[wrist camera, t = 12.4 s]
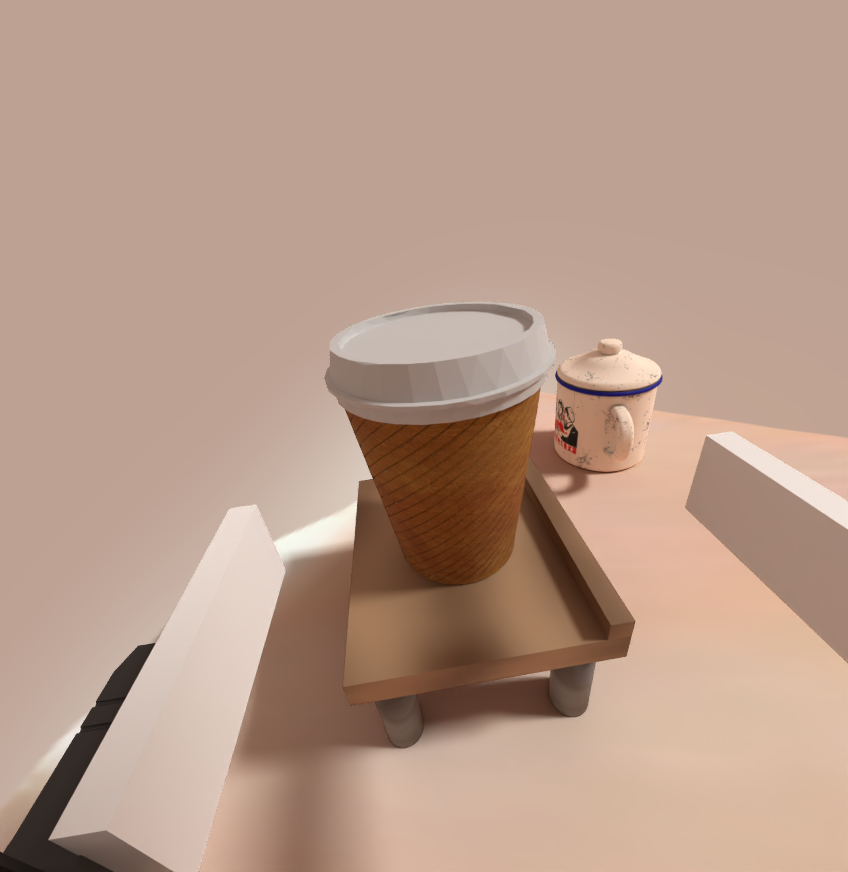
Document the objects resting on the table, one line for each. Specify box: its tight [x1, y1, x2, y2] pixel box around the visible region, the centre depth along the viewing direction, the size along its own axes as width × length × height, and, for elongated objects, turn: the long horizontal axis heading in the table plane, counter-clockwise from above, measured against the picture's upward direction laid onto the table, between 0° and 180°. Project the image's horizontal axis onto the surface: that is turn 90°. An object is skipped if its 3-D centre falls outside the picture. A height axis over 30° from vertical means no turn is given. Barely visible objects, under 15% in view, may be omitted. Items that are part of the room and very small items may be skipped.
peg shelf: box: [343, 456, 635, 748], centre depth 23 cm, size 12×14×8 cm
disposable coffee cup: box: [325, 302, 556, 585], centre depth 18 cm, size 10×10×12 cm
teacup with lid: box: [554, 339, 662, 472], centre depth 36 cm, size 12×9×12 cm
